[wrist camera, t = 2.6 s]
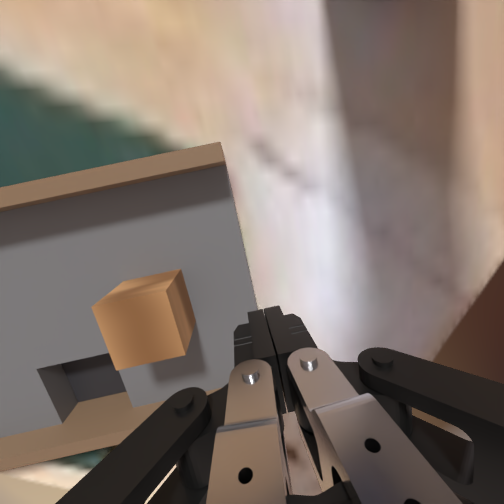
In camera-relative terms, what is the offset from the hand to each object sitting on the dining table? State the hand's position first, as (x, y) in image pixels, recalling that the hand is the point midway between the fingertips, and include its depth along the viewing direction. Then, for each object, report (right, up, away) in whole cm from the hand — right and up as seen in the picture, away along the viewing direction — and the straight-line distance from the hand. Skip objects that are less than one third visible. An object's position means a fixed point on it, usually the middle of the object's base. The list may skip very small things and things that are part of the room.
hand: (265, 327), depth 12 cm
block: (-7, 0, +6) cm, 9 cm away
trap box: (-14, -1, +8) cm, 16 cm away
